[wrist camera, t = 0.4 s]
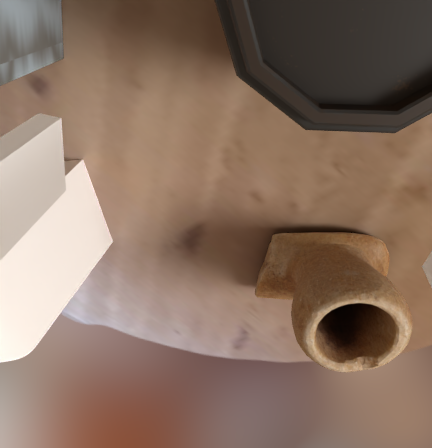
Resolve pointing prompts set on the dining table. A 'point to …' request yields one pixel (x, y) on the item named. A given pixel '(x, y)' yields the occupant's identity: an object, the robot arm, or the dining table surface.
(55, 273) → the milk
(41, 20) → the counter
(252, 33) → the black octagonal canister
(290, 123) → the dining table surface
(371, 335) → the stone cup
